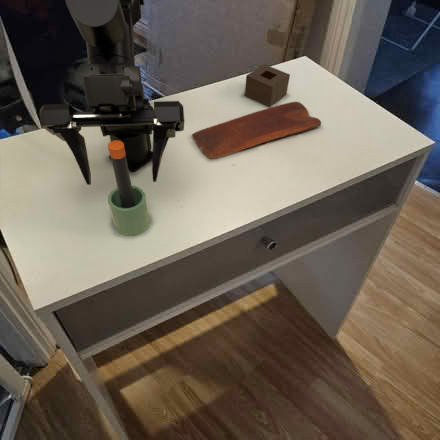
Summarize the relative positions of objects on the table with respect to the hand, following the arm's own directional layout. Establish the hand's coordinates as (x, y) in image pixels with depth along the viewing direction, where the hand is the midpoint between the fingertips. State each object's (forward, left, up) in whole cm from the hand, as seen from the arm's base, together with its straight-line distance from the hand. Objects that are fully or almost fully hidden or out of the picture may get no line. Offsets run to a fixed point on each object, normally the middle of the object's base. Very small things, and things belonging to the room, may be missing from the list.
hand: (122, 183), depth 56 cm
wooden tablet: (+36, +1, -9) cm, 37 cm away
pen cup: (+1, +1, -9) cm, 9 cm away
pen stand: (+48, +7, -9) cm, 49 cm away
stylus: (+1, +1, -9) cm, 9 cm away
